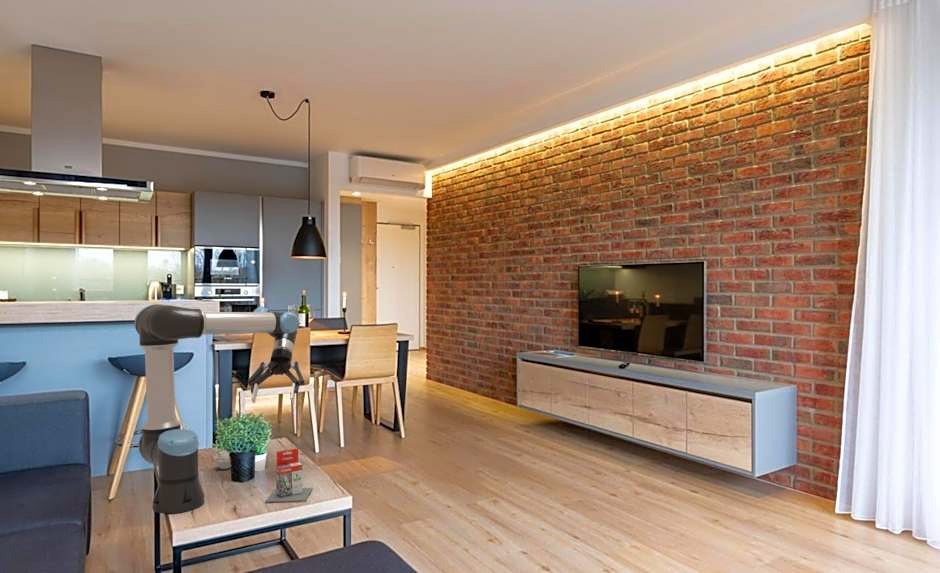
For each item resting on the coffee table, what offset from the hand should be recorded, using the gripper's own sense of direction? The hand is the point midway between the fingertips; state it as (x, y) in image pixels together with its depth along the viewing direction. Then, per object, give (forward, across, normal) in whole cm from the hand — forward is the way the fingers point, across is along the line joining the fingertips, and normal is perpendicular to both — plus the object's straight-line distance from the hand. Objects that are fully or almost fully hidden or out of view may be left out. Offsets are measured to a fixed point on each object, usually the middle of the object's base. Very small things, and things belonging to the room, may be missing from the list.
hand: (272, 400), depth 217 cm
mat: (+31, -9, -11) cm, 34 cm away
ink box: (+30, -9, -11) cm, 34 cm away
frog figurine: (+8, +23, -34) cm, 42 cm away
